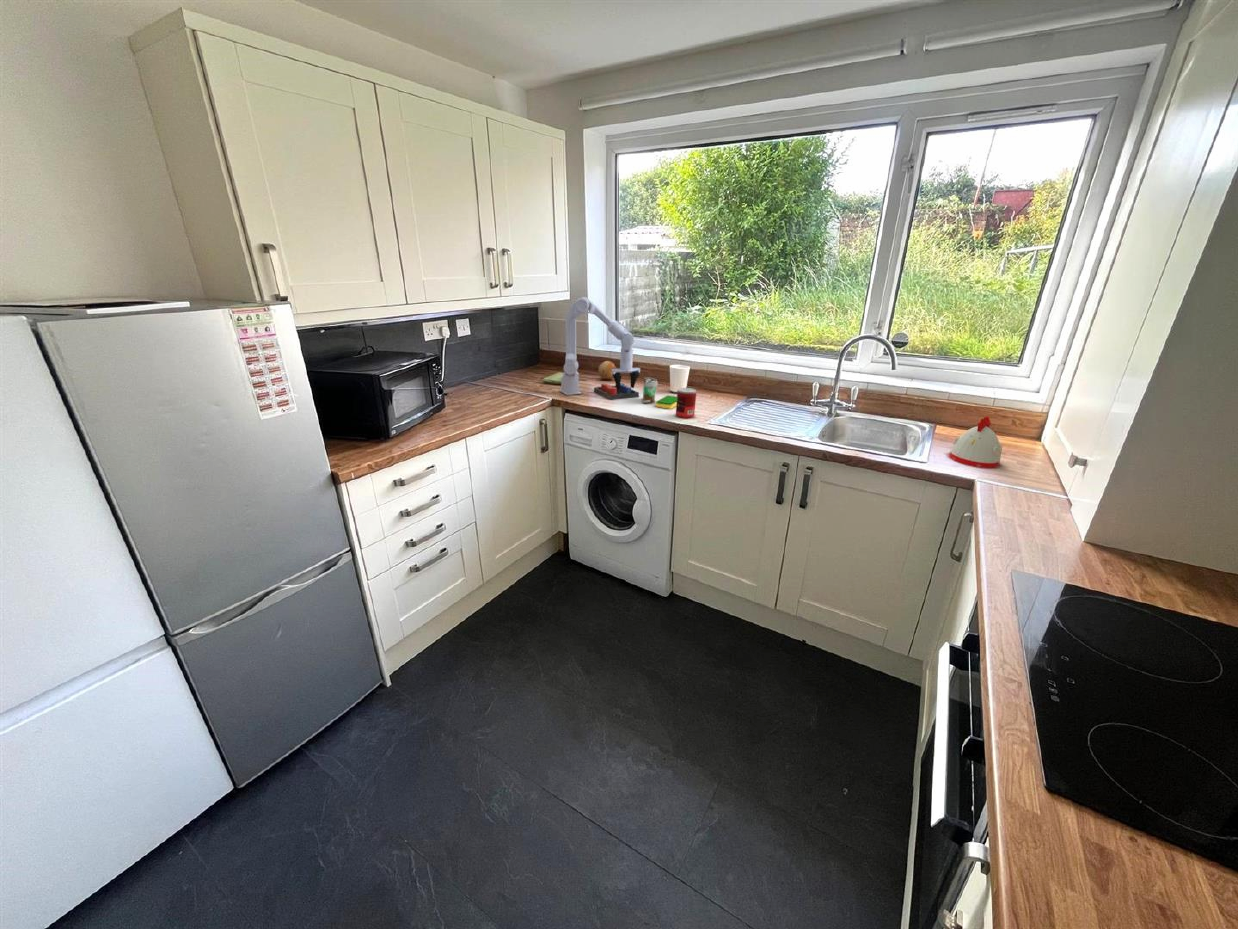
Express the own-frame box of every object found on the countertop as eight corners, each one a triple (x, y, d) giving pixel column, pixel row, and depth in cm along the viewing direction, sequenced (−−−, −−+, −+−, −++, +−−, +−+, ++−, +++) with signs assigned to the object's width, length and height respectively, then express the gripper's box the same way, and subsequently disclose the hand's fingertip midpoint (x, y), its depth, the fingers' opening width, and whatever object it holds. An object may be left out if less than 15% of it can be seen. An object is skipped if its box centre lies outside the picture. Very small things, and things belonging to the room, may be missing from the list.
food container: (657, 405, 222) (658, 382, 218) (643, 404, 222) (644, 382, 218) (656, 398, 233) (657, 377, 230) (642, 397, 233) (644, 376, 230)
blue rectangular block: (621, 389, 245) (621, 382, 244) (633, 394, 236) (633, 387, 234) (613, 390, 243) (613, 383, 242) (625, 395, 234) (625, 388, 232)
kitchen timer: (941, 457, 169) (953, 414, 163) (959, 450, 176) (972, 409, 171) (988, 470, 158) (1003, 425, 153) (1005, 462, 166) (1020, 419, 160)
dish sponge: (655, 406, 219) (656, 401, 218) (666, 400, 230) (667, 395, 230) (670, 409, 216) (671, 403, 215) (681, 402, 228) (681, 397, 227)
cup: (691, 391, 248) (693, 366, 244) (682, 395, 241) (684, 369, 236) (673, 388, 253) (675, 363, 248) (664, 392, 245) (666, 366, 241)
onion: (596, 381, 265) (596, 362, 261) (600, 377, 274) (600, 359, 270) (614, 382, 263) (614, 363, 260) (617, 378, 273) (618, 360, 269)
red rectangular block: (609, 396, 231) (610, 388, 230) (598, 390, 240) (599, 383, 239) (618, 395, 233) (618, 388, 232) (607, 390, 242) (607, 383, 241)
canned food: (695, 414, 209) (698, 388, 205) (692, 419, 202) (694, 392, 198) (677, 412, 211) (679, 386, 207) (673, 417, 204) (675, 390, 200)
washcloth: (541, 383, 256) (541, 376, 255) (559, 377, 271) (559, 371, 270) (563, 386, 251) (563, 380, 250) (580, 380, 266) (580, 374, 264)
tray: (610, 399, 228) (610, 395, 227) (594, 391, 242) (594, 387, 241) (638, 396, 235) (639, 392, 234) (621, 389, 249) (621, 385, 248)
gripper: (616, 361, 225) (615, 391, 230) (644, 360, 232) (642, 388, 237) (609, 359, 231) (608, 387, 236) (636, 357, 238) (635, 385, 243)
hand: (625, 388), depth 237 cm, fingers open, 7 cm apart
